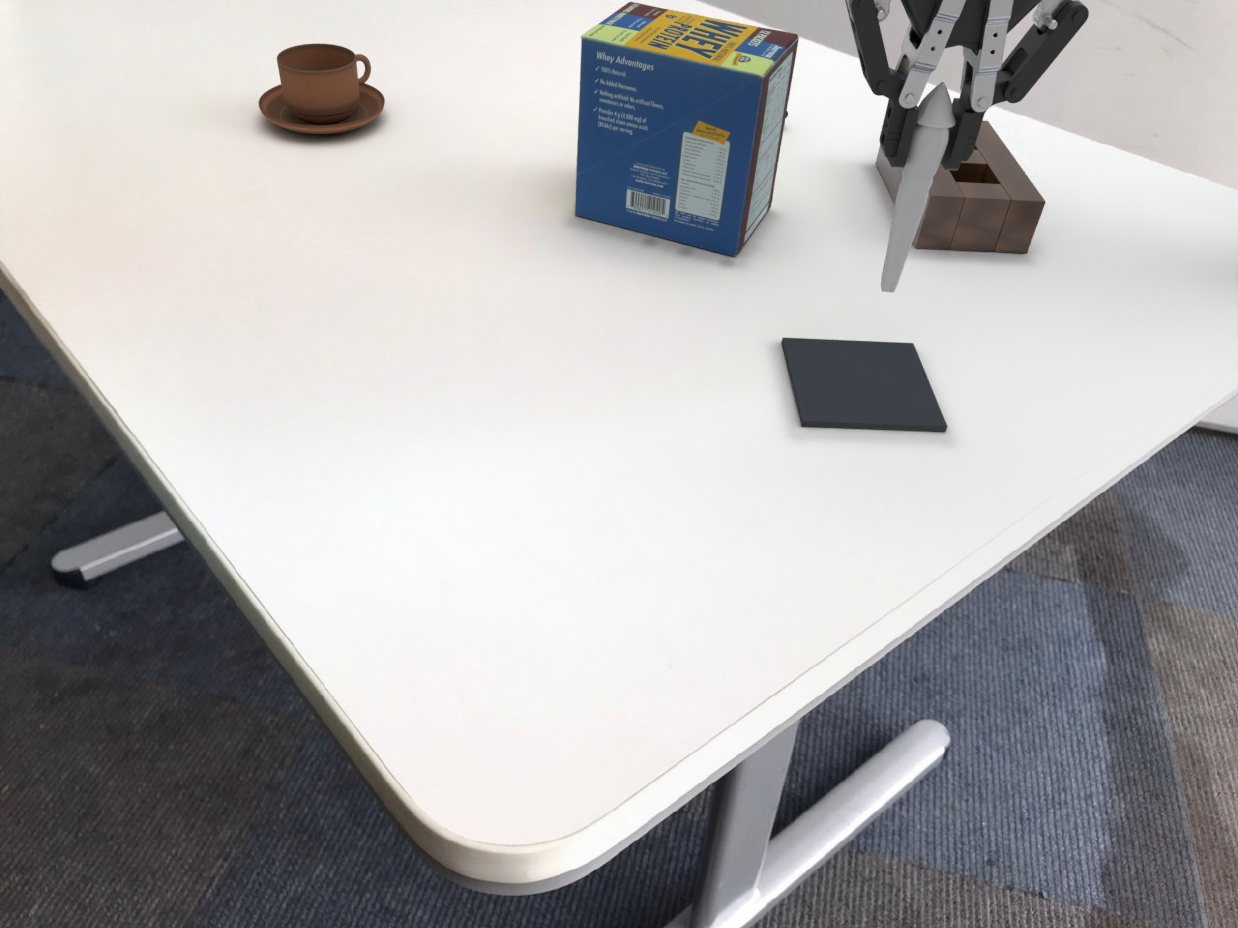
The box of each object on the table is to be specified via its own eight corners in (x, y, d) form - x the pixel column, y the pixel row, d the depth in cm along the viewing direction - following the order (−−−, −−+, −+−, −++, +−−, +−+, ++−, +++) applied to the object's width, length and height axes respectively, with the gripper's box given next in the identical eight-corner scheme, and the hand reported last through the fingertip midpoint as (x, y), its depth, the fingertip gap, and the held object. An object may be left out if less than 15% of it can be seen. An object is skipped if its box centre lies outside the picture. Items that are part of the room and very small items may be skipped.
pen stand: (973, 168, 102) (988, 120, 99) (1027, 254, 90) (1046, 201, 86) (875, 163, 102) (887, 114, 98) (915, 248, 89) (930, 195, 86)
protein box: (617, 170, 97) (628, -1, 87) (772, 208, 93) (802, 33, 83) (570, 216, 89) (577, 34, 79) (737, 259, 86) (766, 74, 75)
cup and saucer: (306, 88, 107) (298, 27, 103) (408, 110, 104) (403, 49, 100) (236, 129, 98) (224, 65, 94) (344, 155, 96) (336, 90, 92)
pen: (908, 303, 67) (969, 92, 58) (867, 298, 67) (921, 87, 58) (904, 283, 69) (963, 76, 60) (864, 278, 69) (917, 71, 60)
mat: (911, 348, 77) (913, 342, 77) (945, 432, 70) (948, 426, 69) (781, 342, 77) (782, 337, 76) (801, 426, 69) (802, 420, 69)
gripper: (887, -159, 47) (818, 186, 59) (1178, -139, 48) (1054, 197, 60) (856, -187, 53) (798, 132, 65) (1117, -170, 54) (1014, 143, 65)
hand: (921, 162), depth 62 cm, fingers closed on pen, 2 cm apart
